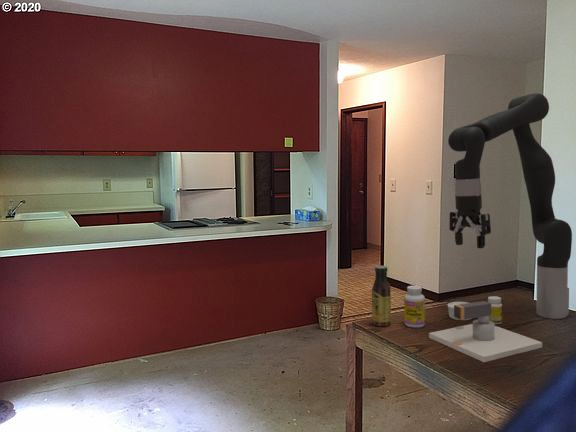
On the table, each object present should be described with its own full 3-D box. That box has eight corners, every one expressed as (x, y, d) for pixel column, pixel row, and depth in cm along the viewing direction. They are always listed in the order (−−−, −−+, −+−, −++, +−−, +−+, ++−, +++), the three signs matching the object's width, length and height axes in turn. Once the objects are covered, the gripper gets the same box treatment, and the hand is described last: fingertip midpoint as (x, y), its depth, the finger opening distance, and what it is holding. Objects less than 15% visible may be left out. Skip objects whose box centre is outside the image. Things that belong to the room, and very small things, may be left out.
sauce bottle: (370, 322, 169) (368, 265, 167) (388, 320, 170) (386, 264, 168) (375, 328, 163) (373, 268, 161) (393, 326, 163) (392, 267, 161)
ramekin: (456, 322, 166) (456, 309, 165) (442, 315, 174) (442, 303, 174) (480, 319, 168) (480, 307, 167) (464, 312, 176) (464, 300, 176)
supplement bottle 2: (503, 324, 161) (503, 299, 160) (488, 324, 162) (488, 299, 161) (500, 320, 166) (500, 295, 165) (485, 320, 166) (485, 295, 166)
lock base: (483, 326, 160) (483, 308, 160) (542, 347, 140) (542, 327, 140) (429, 337, 152) (428, 318, 151) (483, 362, 132) (483, 340, 131)
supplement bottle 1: (402, 327, 162) (402, 289, 161) (406, 321, 168) (405, 284, 167) (423, 329, 160) (423, 290, 159) (426, 322, 166) (425, 285, 165)
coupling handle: (484, 319, 147) (484, 300, 147) (491, 322, 144) (491, 303, 144) (454, 324, 144) (454, 304, 144) (460, 327, 141) (460, 307, 141)
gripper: (441, 194, 155) (443, 245, 156) (477, 195, 142) (479, 250, 143) (459, 192, 158) (461, 242, 159) (496, 193, 145) (497, 247, 147)
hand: (469, 246), depth 151 cm, fingers open, 8 cm apart
